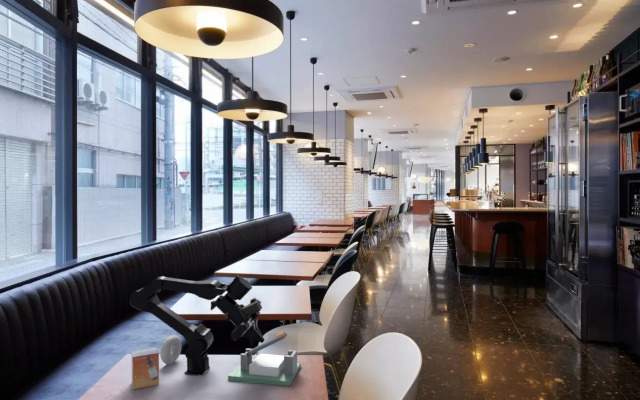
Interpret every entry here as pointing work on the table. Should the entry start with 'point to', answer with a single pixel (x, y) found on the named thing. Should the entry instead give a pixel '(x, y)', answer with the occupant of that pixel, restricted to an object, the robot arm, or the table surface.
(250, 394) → the table surface
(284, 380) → the board
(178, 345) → the donut
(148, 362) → the small box
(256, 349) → the strap
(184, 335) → the robot arm
